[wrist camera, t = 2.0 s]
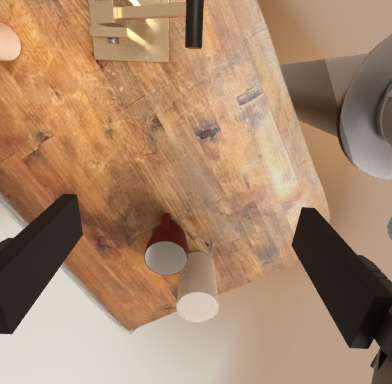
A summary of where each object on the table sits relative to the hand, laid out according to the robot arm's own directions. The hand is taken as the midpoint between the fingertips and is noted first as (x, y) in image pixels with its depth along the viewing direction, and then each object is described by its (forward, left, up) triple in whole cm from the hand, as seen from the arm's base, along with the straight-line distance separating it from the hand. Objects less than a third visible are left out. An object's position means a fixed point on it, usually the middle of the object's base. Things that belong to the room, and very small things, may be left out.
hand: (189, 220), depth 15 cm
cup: (-30, +15, -34) cm, 48 cm away
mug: (-17, +15, -34) cm, 41 cm away
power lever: (+15, -3, -22) cm, 27 cm away
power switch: (+17, +2, -34) cm, 38 cm away
